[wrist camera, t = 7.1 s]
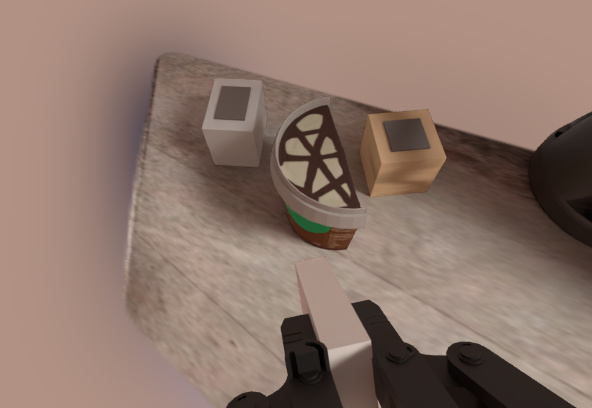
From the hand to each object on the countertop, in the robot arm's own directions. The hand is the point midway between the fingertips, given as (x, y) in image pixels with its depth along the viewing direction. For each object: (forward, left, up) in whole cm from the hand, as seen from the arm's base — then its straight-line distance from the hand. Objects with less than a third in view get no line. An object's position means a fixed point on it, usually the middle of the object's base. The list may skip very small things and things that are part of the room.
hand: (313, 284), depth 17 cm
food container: (+1, -12, -15) cm, 19 cm away
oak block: (-8, -18, -15) cm, 25 cm away
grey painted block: (+9, -21, -15) cm, 27 cm away
